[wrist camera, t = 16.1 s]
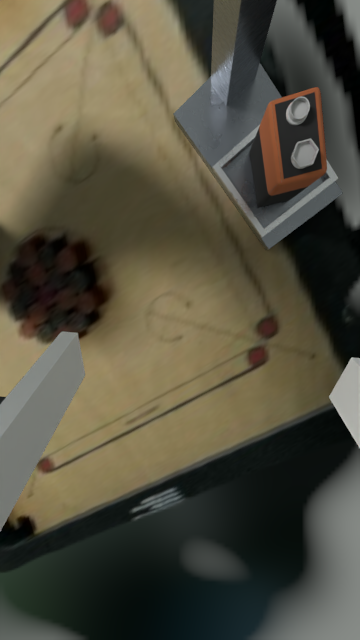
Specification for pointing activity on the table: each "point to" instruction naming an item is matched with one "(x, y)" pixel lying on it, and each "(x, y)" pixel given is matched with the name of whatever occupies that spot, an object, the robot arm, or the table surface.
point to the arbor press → (244, 120)
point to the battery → (288, 147)
